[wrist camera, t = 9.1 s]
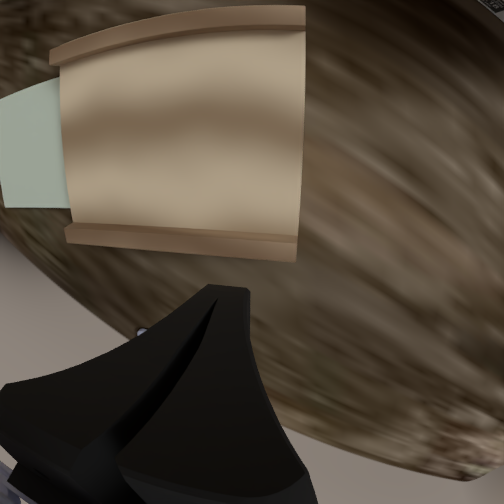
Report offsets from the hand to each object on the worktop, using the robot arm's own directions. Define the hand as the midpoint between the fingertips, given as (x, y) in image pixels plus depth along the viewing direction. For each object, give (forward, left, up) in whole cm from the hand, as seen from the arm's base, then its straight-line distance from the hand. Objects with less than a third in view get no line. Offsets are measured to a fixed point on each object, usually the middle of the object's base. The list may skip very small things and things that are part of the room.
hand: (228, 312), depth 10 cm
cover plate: (+5, +17, -10) cm, 21 cm away
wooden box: (+5, +5, -9) cm, 12 cm away
